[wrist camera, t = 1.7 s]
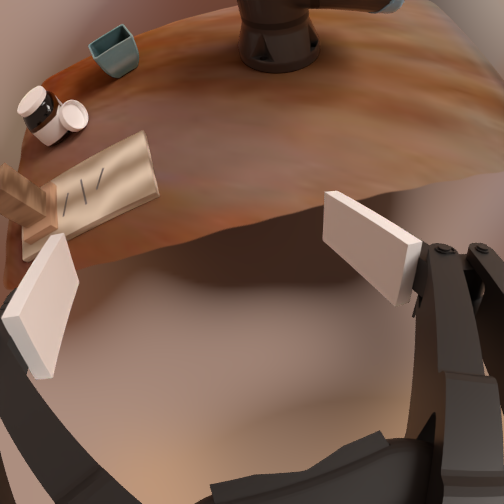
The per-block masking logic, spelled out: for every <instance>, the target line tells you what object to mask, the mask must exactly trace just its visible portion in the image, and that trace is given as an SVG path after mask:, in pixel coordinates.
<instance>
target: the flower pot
mask: <svg viewBox="0 0 504 504" xmlns="http://www.w3.org/2000/svg"><path fill="white" fill-rule="evenodd" d="M88 47H89V49H90V52H91V54H92V56H93V59H94V60H95V61H96V63H97V64H98V65H99V66H100V67H101V68H102V69H103V70H104V72H106V73H107V74H108V75H110V76H112V77H115V78H120V77H121V76H123V75H125V74H126V73H128V72H129V71H131V70H133V69H134V68H136V67H137V66H138V63H139V53H138V49H137V46H136V43H135V41H134V38H133V35H132V34H131V33H130V32H129V31H128V30H127V28H126V27H125V26H124V24H121V25H120V26H118V27H116V28H114V29H113V30H111V31H110V32H108V33H106V34H105V35H103V36H101V37H100V38H98V39H97V40H95V41H93V42H92V43H91V44H89V45H88Z"/></svg>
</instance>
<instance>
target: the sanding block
mask: <svg viewBox="0 0 504 504" xmlns="http://www.w3.org/2000/svg"><path fill="white" fill-rule="evenodd" d="M0 214H1V215H3V216H4V217H6V218H8V219H10V220H12V221H13V222H15V223H17V224H19V225H21V226H23V241H24V242H26V243H28V244H30V245H31V244H33V243H35V242H37V241H38V240H40V239H42V238H43V237H45V236H47V235H49V234H50V233H52V232H54V231H56V230H57V229H58V216H57V186H56V185H55V184H54V183H52V182H51V181H49V182H47V183H46V184H44V185H43V186H41V187H40V188H39V187H38V186H36V185H35V184H33V183H32V182H31V181H29V180H28V179H26V178H25V177H24V176H22V175H21V174H19V173H18V172H17V171H15V170H14V169H13V168H11V167H10V166H8V165H7V164H6V163H4V164H2V165H1V166H0Z"/></svg>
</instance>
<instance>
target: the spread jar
mask: <svg viewBox="0 0 504 504" xmlns="http://www.w3.org/2000/svg"><path fill="white" fill-rule="evenodd" d="M17 112H18V114H20V116H22V117H23V119H24V121H25V124H26V126H27V127H28V129H29V130H30V131H31V133H32V134H33V135H34V136H36V137H37V138H38V139H39V140H40V141H41V142H42V143H44V144H45V145H47V146H53V145H55V144H57V143H59V142H61V141H62V140H63V139H64V138H65V137H66V136H67V135H68V134H69V133H70V131H72V132H78V131H80V130H82V129H83V128H84V127H85V126H86V125H87V123H88V113H87V110H86V109H85V107H84V106H83V105H82V104H81V103H80V102H78V101H76V100H68V101H66V102H65V103H64V104H62V103H61V101H60V100H59V99H58V98H57V97H56V96H55V95H54V94H53V93H52V92H50V91H46V90H45V89H44V88H43V87H42V86H37V87H35V88H33V89H32V90H31V91H29V92H28V93H27V94H26V95H25V96H24V98H23V99H22V100H21V102H20V104H19V106H18V109H17Z"/></svg>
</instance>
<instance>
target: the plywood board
mask: <svg viewBox="0 0 504 504" xmlns="http://www.w3.org/2000/svg"><path fill="white" fill-rule="evenodd" d="M51 182H52V183H54V184H55V185H56V186H57V216H58V229H57V230H56V231H54V232H52V233H50V234H49V235H47V236H45V237H43V238H42V239H40V240H38V241H37V242H35V243H33V244H31V245H30V244H28V243H26V242H24V241H23V226H22V256H23V261H26V262H30V261H32V260H33V259H35V258H36V257H37V255H38V254H39V252H40V251H41V249H42V248H43V246H44V245H45V243H46V242H47V240H48V239H49V237H50V236H51V235H55V234H60V233H64V234H65V237H66V241H68V240H70V239H72V238H74V237H76V236H78V235H80V234H82V233H84V232H86V231H88V230H90V229H92V228H94V227H96V226H98V225H100V224H102V223H104V222H106V221H108V220H110V219H112V218H114V217H116V216H118V215H120V214H123V213H125V212H127V211H129V210H131V209H133V208H135V207H138V206H140V205H142V204H144V203H146V202H149V201H151V200H153V199H155V198H157V197H160V195H159V191H158V187H157V182H156V178H155V173H154V169H153V164H152V160H151V155H150V150H149V145H148V140H147V135H146V134H145V132H144V131H143V130H142V131H140V132H138V133H136V134H134V135H132V136H130V137H128V138H126V139H124V140H122V141H120V142H118V143H116V144H114V145H112V146H110V147H108V148H106V149H105V150H103V151H101V152H99V153H97V154H95V155H94V156H92V157H90V158H88V159H86V160H85V161H83V162H81V163H79V164H78V165H76V166H74V167H73V168H71V169H69V170H68V171H66V172H64V173H63V174H61V175H59V176H58V177H56V178H54V179H53V180H51Z"/></svg>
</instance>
